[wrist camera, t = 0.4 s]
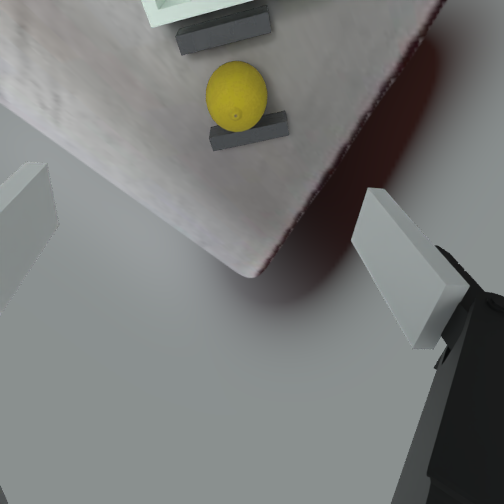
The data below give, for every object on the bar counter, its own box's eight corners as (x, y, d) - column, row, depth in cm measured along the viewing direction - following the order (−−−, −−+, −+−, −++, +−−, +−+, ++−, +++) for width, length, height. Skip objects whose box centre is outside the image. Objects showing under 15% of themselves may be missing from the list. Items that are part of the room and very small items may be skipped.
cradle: (267, 5, 32) (267, 12, 30) (287, 124, 40) (289, 135, 38) (179, 28, 34) (175, 36, 32) (215, 139, 41) (213, 151, 39)
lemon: (242, 118, 39) (241, 158, 34) (198, 84, 37) (188, 120, 31) (277, 76, 36) (282, 111, 31) (232, 35, 34) (228, 65, 28)
